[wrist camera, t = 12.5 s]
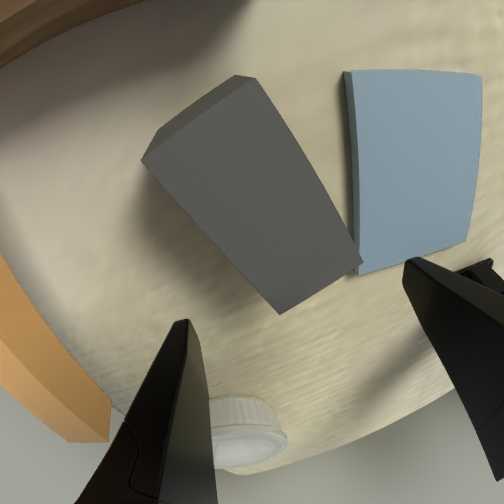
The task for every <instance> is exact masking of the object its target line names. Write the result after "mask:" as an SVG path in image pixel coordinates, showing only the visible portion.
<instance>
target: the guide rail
mask: <svg viewBox="0 0 504 504" xmlns="http://www.w3.org/2000/svg"><path fill="white" fill-rule="evenodd" d="M142 1H145V0H0V68H1V67H3V66H4V65H6V64H7V63H9V62H11V61H12V60H14V59H15V58H17V57H19V56H20V55H22V54H24V53H25V52H27V51H29V50H31V49H32V48H34V47H36V46H38V45H40V44H41V43H43V42H45V41H47V40H49V39H51V38H53V37H55V36H57V35H59V34H61V33H63V32H65V31H67V30H69V29H71V28H74V27H76V26H78V25H80V24H82V23H85V22H87V21H89V20H92V19H94V18H97V17H99V16H102V15H104V14H107V13H110V12H112V11H115V10H118V9H121V8H124V7H126V6H129V5H132V4H136V3H139V2H142Z"/></svg>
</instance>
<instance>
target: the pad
mask: <svg viewBox="0 0 504 504" xmlns="http://www.w3.org/2000/svg"><path fill="white" fill-rule="evenodd" d="M343 72H344V80H345V88H346V97H347V107H348V118H349V130H350V144H351V160H352V182H353V242H354V244H355V246H356V248H357V250H358V252H359V254H360V256H361V258H362V260H363V262H364V263H363V264H361V265H360V266H358V267H357V268H355V269H354V270H355V271H356V273H357V274H358V276H360V275H363V274H366V273H370V272H373V271H376V270H380V269H383V268H386V267H389V266H393V265H396V264H399V263H402V262H405V261H406V260H407V259H410V258H413V257H421V256H424V255H427V254H430V253H433V252H436V251H439V250H442V249H445V248H448V247H451V246H454V245H457V244H460V243H463V242H466V239H467V235H468V230H469V225H470V220H471V214H472V209H473V203H474V197H475V190H476V183H477V175H478V166H479V157H480V145H481V129H482V76H479V75H474V74H467V73H457V72H444V71H428V70H358V71H343Z"/></svg>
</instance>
